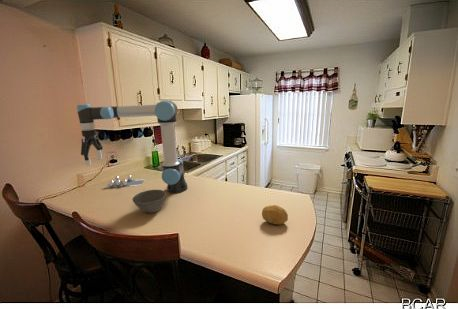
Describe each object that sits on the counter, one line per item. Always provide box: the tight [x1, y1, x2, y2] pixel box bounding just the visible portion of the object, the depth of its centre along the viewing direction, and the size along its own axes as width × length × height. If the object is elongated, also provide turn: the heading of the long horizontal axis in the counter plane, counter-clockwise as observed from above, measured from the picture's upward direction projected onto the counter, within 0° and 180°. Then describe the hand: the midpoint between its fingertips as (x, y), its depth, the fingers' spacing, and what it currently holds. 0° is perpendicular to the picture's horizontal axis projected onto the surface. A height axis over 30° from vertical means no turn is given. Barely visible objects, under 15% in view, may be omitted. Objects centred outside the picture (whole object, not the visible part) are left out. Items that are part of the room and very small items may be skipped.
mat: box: [105, 179, 146, 189], centre depth 177 cm, size 27×15×1 cm, turn 96°
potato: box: [261, 204, 289, 226], centre depth 112 cm, size 10×13×9 cm
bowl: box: [132, 189, 167, 214], centre depth 130 cm, size 19×19×10 cm
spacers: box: [108, 174, 133, 189], centre depth 176 cm, size 13×14×5 cm
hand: (94, 162), depth 141 cm, fingers open, 13 cm apart
